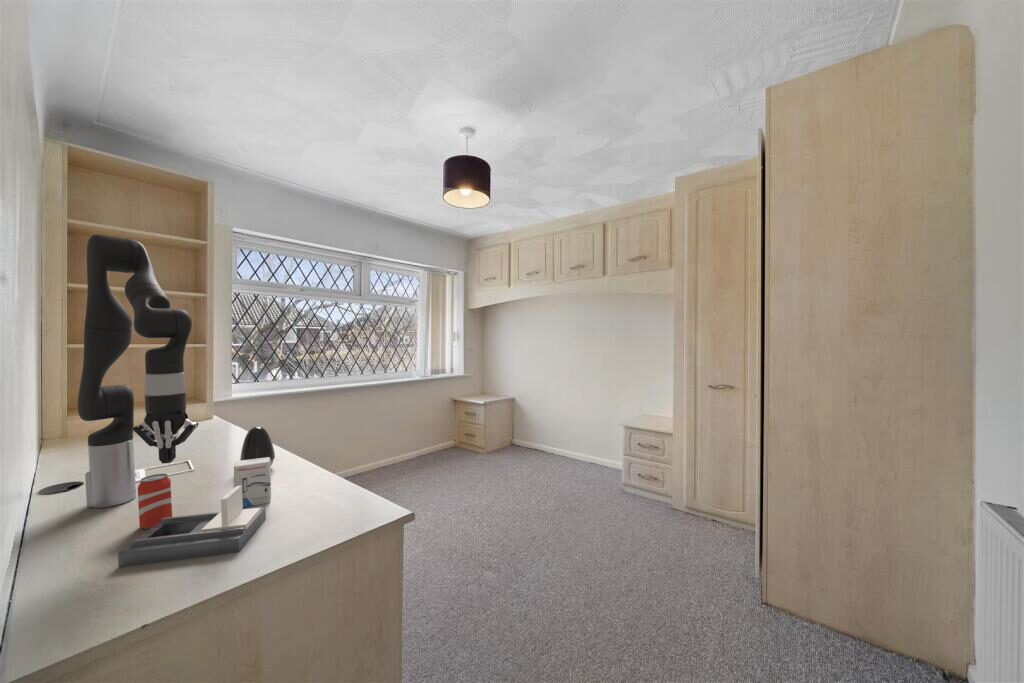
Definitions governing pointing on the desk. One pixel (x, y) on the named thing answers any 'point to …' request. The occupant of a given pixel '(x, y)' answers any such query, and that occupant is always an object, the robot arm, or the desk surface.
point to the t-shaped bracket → (232, 513)
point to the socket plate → (186, 540)
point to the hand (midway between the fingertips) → (167, 462)
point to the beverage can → (154, 500)
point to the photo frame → (141, 472)
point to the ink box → (253, 480)
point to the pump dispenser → (257, 445)
